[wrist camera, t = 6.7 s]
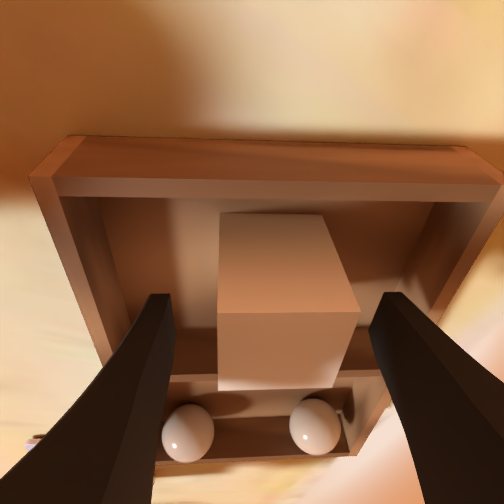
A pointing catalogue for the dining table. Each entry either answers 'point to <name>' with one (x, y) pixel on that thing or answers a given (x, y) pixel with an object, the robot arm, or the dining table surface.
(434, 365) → the robot arm
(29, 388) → the dining table surface
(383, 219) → the caddy
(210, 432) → the pebble
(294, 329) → the white block
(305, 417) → the pebble
